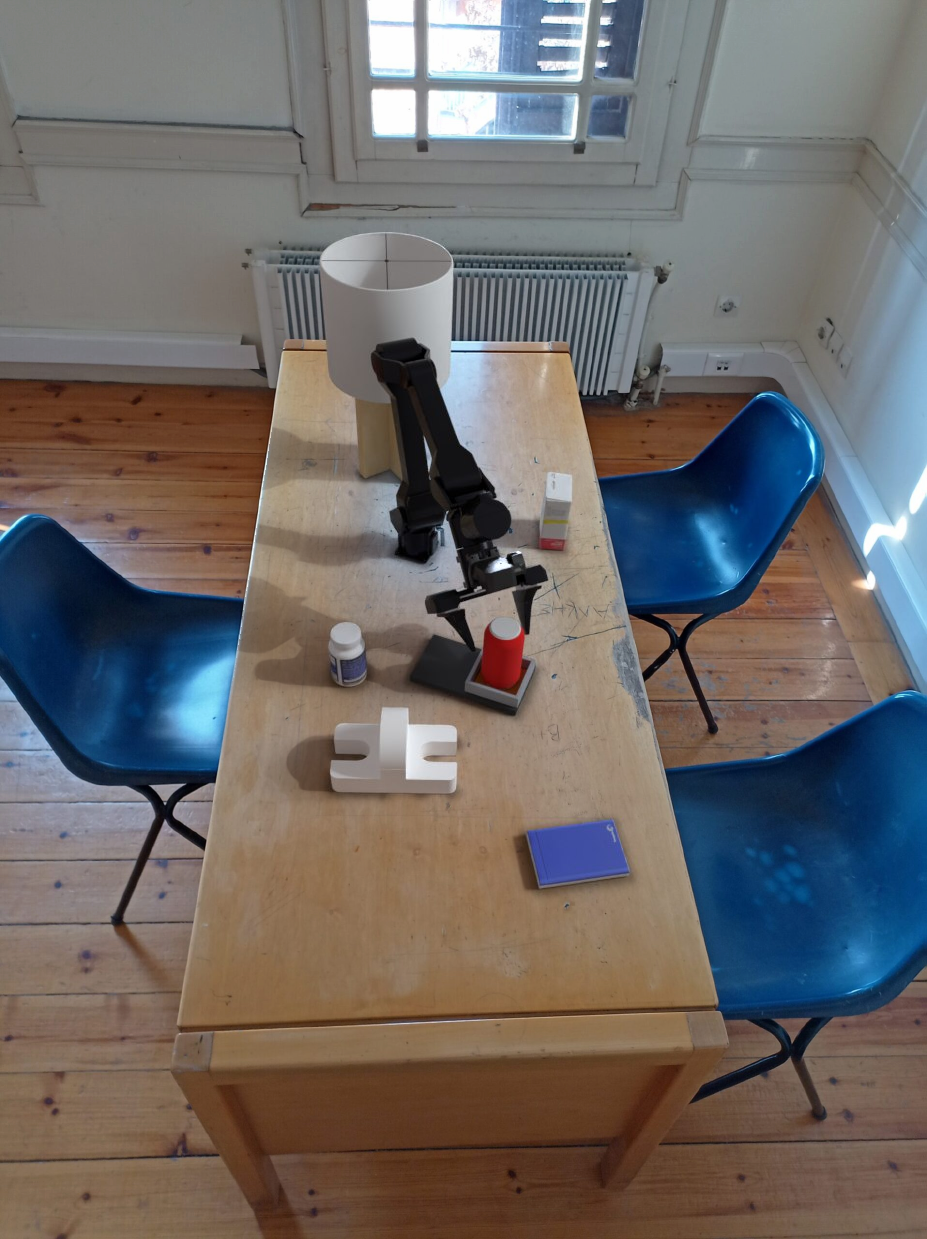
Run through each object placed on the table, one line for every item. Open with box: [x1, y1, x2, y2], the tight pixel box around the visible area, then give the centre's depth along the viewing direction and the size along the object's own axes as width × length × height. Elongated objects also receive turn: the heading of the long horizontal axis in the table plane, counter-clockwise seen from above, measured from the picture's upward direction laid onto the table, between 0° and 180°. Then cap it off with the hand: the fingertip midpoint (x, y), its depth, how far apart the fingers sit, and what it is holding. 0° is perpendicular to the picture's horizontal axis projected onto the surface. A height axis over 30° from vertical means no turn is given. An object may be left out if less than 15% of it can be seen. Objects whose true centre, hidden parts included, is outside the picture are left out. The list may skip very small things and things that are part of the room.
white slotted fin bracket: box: [329, 706, 458, 795], centre depth 123 cm, size 10×18×11 cm, turn 90°
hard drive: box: [525, 818, 631, 889], centre depth 117 cm, size 2×8×12 cm
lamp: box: [318, 231, 454, 481], centre depth 162 cm, size 23×23×43 cm
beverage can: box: [481, 616, 526, 690], centre depth 133 cm, size 6×6×12 cm
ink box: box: [538, 471, 573, 551], centre depth 160 cm, size 9×5×12 cm, turn 175°
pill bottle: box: [328, 621, 368, 688], centre depth 135 cm, size 6×6×10 cm
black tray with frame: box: [409, 633, 536, 716], centre depth 138 cm, size 18×10×3 cm, turn 69°
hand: (500, 643), depth 132 cm, fingers open, 9 cm apart
